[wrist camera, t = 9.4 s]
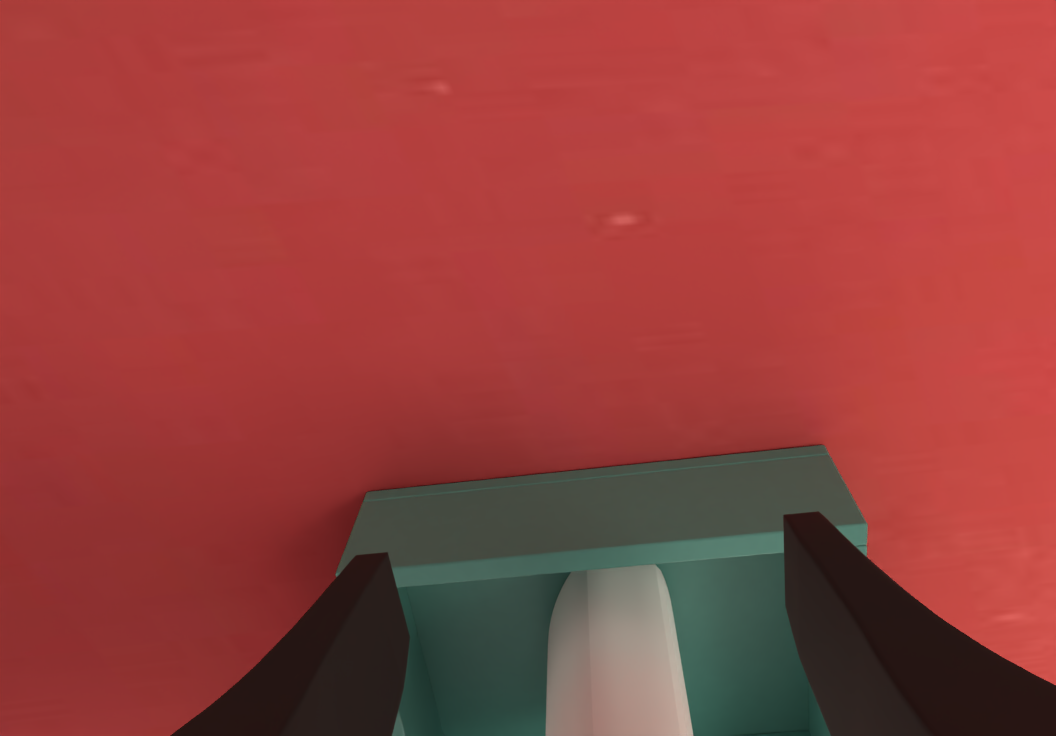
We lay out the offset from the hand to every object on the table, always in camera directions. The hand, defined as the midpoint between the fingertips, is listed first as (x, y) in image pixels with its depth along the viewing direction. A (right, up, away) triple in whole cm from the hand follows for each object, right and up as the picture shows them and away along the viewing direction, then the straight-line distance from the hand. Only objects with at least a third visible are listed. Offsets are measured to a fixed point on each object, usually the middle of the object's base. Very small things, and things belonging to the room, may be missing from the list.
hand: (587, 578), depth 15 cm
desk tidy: (+1, -3, +9) cm, 10 cm away
